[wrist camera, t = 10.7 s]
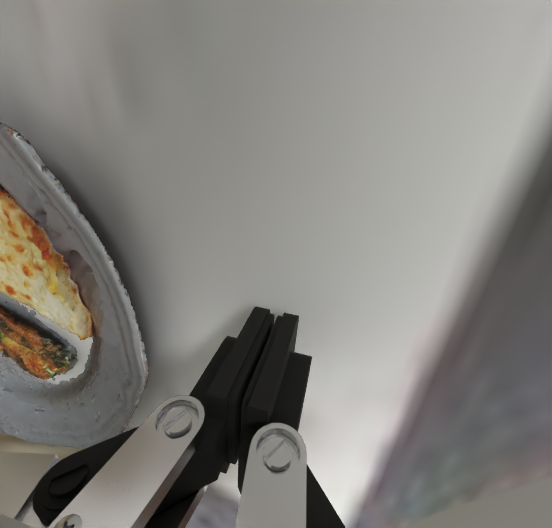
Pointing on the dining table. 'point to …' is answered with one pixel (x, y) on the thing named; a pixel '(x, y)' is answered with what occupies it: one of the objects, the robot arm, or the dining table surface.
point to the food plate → (60, 312)
